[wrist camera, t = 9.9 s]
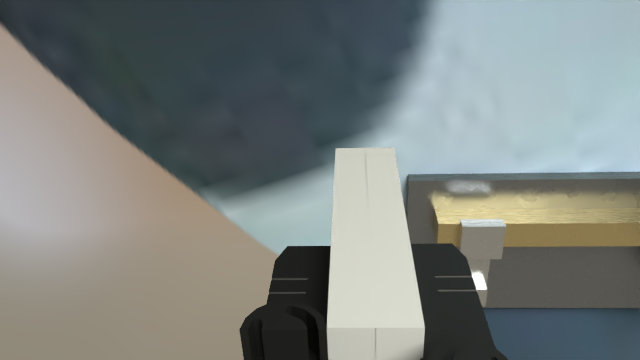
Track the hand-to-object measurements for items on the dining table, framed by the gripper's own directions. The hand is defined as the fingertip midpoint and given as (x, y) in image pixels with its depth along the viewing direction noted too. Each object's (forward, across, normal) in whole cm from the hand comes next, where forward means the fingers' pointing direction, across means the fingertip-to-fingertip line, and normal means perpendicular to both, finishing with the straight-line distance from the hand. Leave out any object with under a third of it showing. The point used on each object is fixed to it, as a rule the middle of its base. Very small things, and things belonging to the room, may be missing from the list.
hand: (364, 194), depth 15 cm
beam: (+23, +18, -18) cm, 35 cm away
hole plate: (+24, +18, -18) cm, 35 cm away
